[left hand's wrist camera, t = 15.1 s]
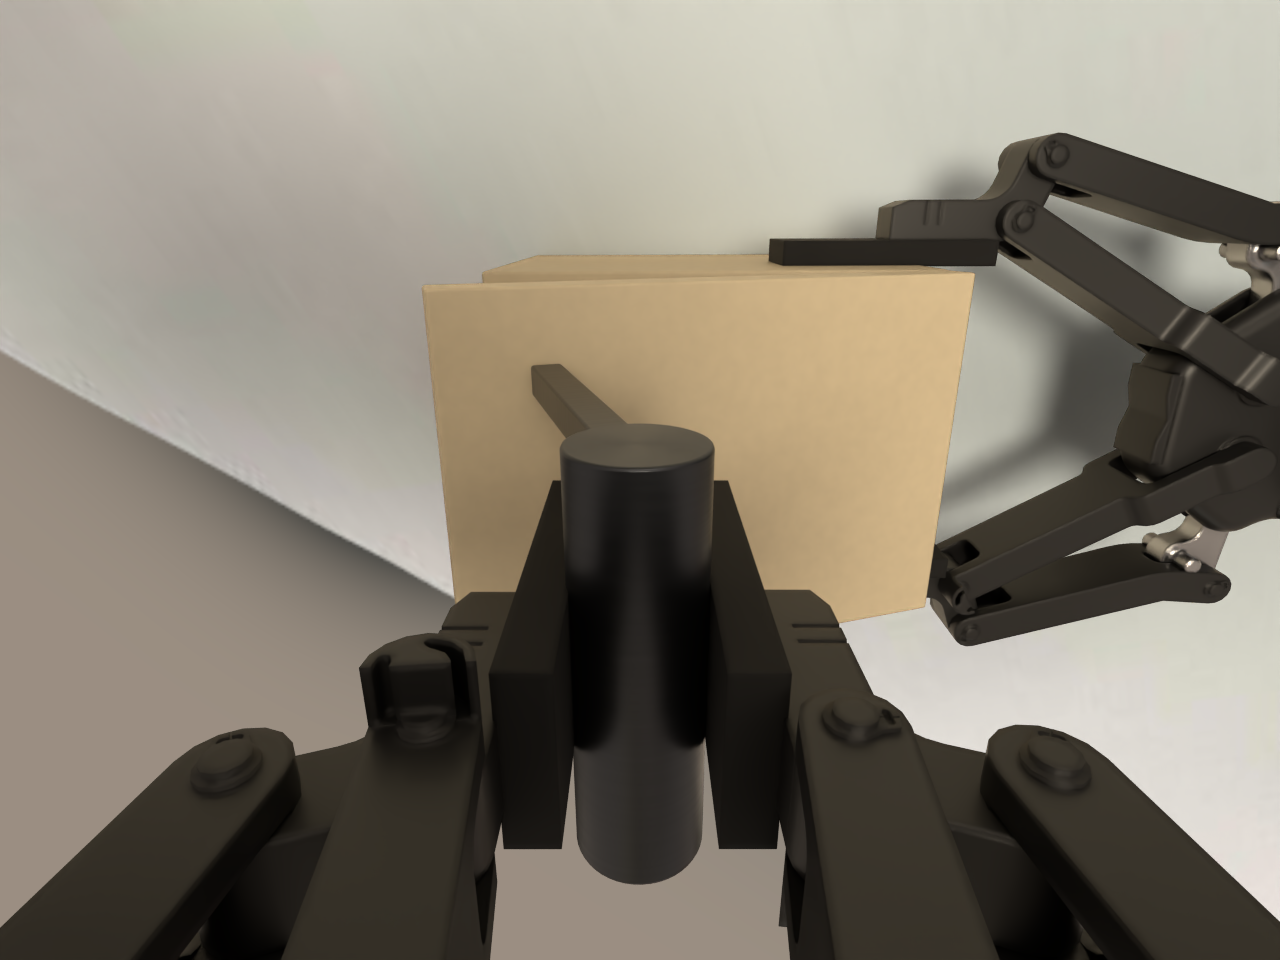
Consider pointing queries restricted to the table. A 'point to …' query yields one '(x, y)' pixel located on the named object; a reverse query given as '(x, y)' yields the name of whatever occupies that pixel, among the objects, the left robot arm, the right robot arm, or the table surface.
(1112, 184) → the right robot arm
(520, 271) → the chest
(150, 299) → the table surface
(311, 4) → the table surface
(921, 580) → the lid
